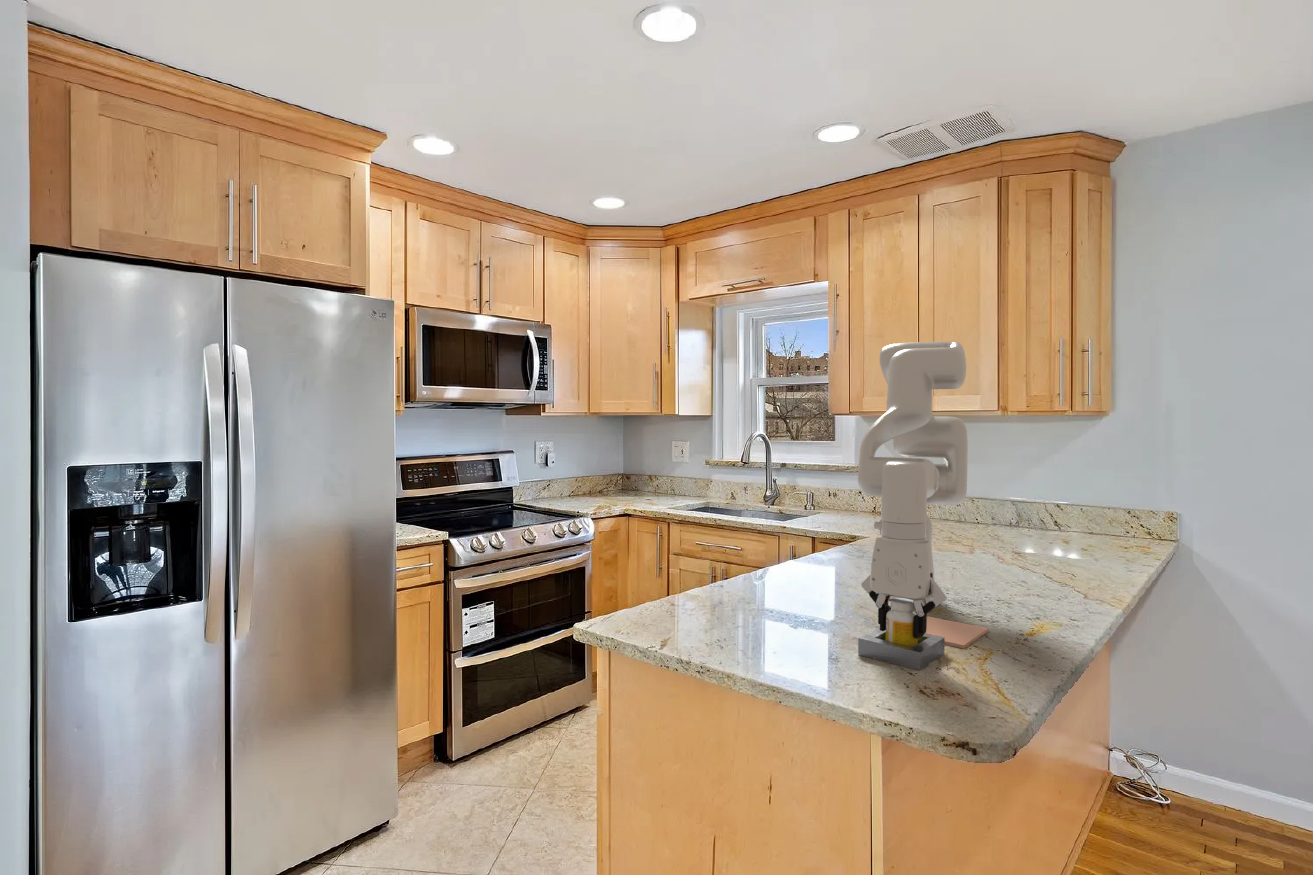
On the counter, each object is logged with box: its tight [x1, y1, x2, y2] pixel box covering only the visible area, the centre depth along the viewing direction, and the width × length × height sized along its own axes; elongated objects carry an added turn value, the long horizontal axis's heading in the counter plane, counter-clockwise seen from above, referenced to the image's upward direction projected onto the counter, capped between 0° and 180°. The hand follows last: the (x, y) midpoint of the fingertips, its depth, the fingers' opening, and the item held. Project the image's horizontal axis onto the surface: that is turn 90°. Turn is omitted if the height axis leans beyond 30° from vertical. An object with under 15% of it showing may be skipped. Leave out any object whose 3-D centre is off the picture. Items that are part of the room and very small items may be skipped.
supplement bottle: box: [886, 598, 918, 647], centre depth 122 cm, size 5×5×10 cm
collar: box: [857, 626, 946, 671], centre depth 122 cm, size 11×11×3 cm
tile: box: [926, 615, 989, 649], centre depth 135 cm, size 14×14×1 cm
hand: (901, 631), depth 122 cm, fingers closed on supplement bottle, 5 cm apart
